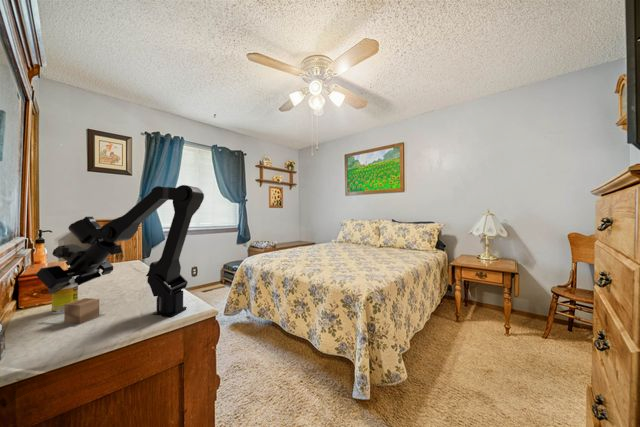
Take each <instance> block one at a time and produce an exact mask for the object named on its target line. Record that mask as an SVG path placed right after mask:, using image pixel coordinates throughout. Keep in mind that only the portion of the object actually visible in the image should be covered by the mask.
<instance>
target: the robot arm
mask: <svg viewBox="0 0 640 427" xmlns="http://www.w3.org/2000/svg"><path fill="white" fill-rule="evenodd" d="M170 200H171V201H172V207H173V211H174V214H173V217H172V221H171V223H170V227H169V229H168V233H167V236H166V241H165V244H164V246H163V249H162V253H161V257H160V258H159V259H158V260H156V261H154V262H153V261H152V262H151V263H150V264H149V268H148V272H147V274H146V275H145V277H147V280H146V282H147V284H148V285H149V287H150V290H151V293H152V295H153V297H156V312H153V313H152V315H154V316H161V317H170V318H171V317H174V316H176V315H178V314H179V313H182V312H183V311H185V310H186V308H187V306H184V289H186V288H187V286H188V280H187V279H186V278H185V277H184V276H183V275H182V274H181V269H182V268H181V267H182V266H181V262H180V257H181V253H182V251H183V247H184V244H185V241H186V237H187V234H188V231H189V227H190V224H191V223H192V222H191V221H192V219H193V216H194V215H195V214H196V212H197V211H198V210H199V209H200V207H201V205H202V203H203V202H204V200H205V194H204V193H203V191H202V190H201V188H199V187H197V186H191V185H186V184H182V185H179V186H176V187H169V186H168V187H167V186H160V185H159V186H157V185H156V186H154V187H153V188H152V189H151V191H150V192H149V193H148V194H147V195H145V196H144V197H143V198H142V199H141V200H140V201H138V202H137V203H136V204H135V205H134V206H133V207H132V208H130V209H129V210H128V211H127V212H126V213H125V214H124V215H121V216H119V217H116V218H114V219H112V220H109V221H108V222H107V223H105V224H103V225H102V226H101V225H100V223H99V222H97V221H96V219H95V218H94V217H93V216H85V217H84V218H81V219H79V220H77V221H75V222H72V223H71V224H69V225H68V231H69V232H70V233H71V234H72V235H73V236H74V237H75V238H76V239H77V240H78V242H80V243H81V244H83V245H84V244H88V245H89V246H87V247H86V248H84V247H82V246H80V245H78V244H74V243H73V244H64V245H63V244H62V245H59V246H57V247H56V248H54V249H53V252H52V255H53V257H56V258H58V259H63V260H65V265H66V266H68V267H67V268H66V269H65V270H64V269H63V267H61V266H60V265H51V266H46V267H41V268H40V269H39V270H38V271H37V272H35V276H36V277H37V278H38V279H39V280H40V281H41V283H43V285H45V287H47V288H48V291H47V292H48V293H49V294H50V295H52V294H53V293H55V292H57V291H59V290H61V289H63V288H65V287H67V286H69V285H71V284H70V283H69V280H71V279H72V277H74V279H75V282H74V283H77V284H78V287H79V286H81V285H83V284H85V283H88V282H90V281H92V280H95V279H99V278H100V277H102V276H106V275H108V274H111V272H113V270H114V265H113V264H112V263H111V262H110V261H109V260H108V257H110V255H111V256H113V255H119V254H122V253H123V249H122V245H121V244H118V243H119V242H124V241H130V240H131V239H132V238H133V237H134V235H136V233H137V232H138V229H139V226H140V225H141V223H143V222H144V221H145V220H146V219H147V218H149V217H150V216H151V215H152V214H153V213H154V212H155V211H157V210H158V209H159V208H160V207H161V206H163V204H165V203H166V202H168V201H170ZM117 242H118V243H117ZM100 271H101V272H100ZM184 309H185V310H184ZM187 309H188V308H187ZM181 311H182V312H181Z"/></svg>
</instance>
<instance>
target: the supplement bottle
mask: <svg viewBox="0 0 640 427" xmlns="http://www.w3.org/2000/svg"><path fill="white" fill-rule="evenodd" d="M74 282H75V277H72V279H71V280H69V283H70V284H71V285H69V286H67V287H65V288H63V289H61V290H59V291H57V292H55V293H53V294H51V314H56V315H57V314H64V304H67V303H71V302H74V301H77V300H79V286H78V284H77V283H74Z"/></svg>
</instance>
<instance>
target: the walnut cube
mask: <svg viewBox="0 0 640 427" xmlns="http://www.w3.org/2000/svg"><path fill="white" fill-rule="evenodd" d="M63 314H64V323H73V324H81V323H83V324H85V323H84V322H86V321H88V322H90V321H89V320H91V319H93V320H95V319H94V318H96V317H99V314H100V298H90V297H89V298H88V297H87V298H86V297H84V298H81V299H78V300H77V301H74V302H71V303H67V304H64V313H63ZM99 318H100V317H99ZM96 319H97V318H96ZM91 321H92V320H91ZM86 323H87V322H86ZM81 325H82V324H81Z"/></svg>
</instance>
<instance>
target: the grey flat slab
mask: <svg viewBox="0 0 640 427" xmlns="http://www.w3.org/2000/svg"><path fill="white" fill-rule="evenodd" d="M106 315H107V314H105V313H99V317H96V318H94V319H91V320H89V321H86V322H84V323H81V324H73V323H64V313H62V314H61V315H58V316H55V317H52V318H49V319H46V320H43V321H40V322H38V323H37V324H38V325H45V326H46V325H49V326H60V327H71V328H72V327H73V328H75V327H78V326H80V325H83V324H85V323H89V322H91V321H93V320H96V319H99V318H101V317H103V316H106Z"/></svg>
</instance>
